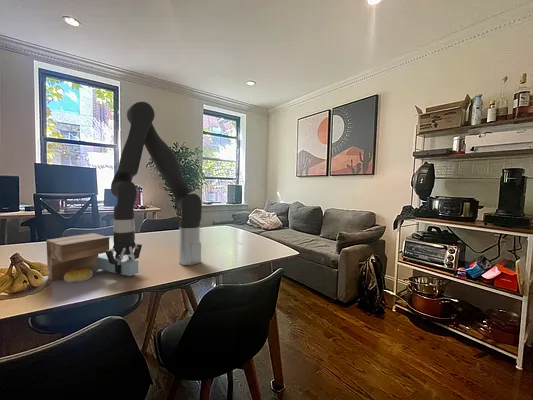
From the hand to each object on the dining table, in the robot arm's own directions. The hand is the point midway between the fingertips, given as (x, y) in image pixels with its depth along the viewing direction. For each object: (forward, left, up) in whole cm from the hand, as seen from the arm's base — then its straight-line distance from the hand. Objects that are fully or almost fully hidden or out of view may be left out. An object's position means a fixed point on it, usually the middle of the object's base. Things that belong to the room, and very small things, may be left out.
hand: (124, 271), depth 101 cm
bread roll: (+11, +12, -2) cm, 16 cm away
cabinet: (+13, +10, -1) cm, 17 cm away
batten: (+4, +1, 0) cm, 4 cm away
